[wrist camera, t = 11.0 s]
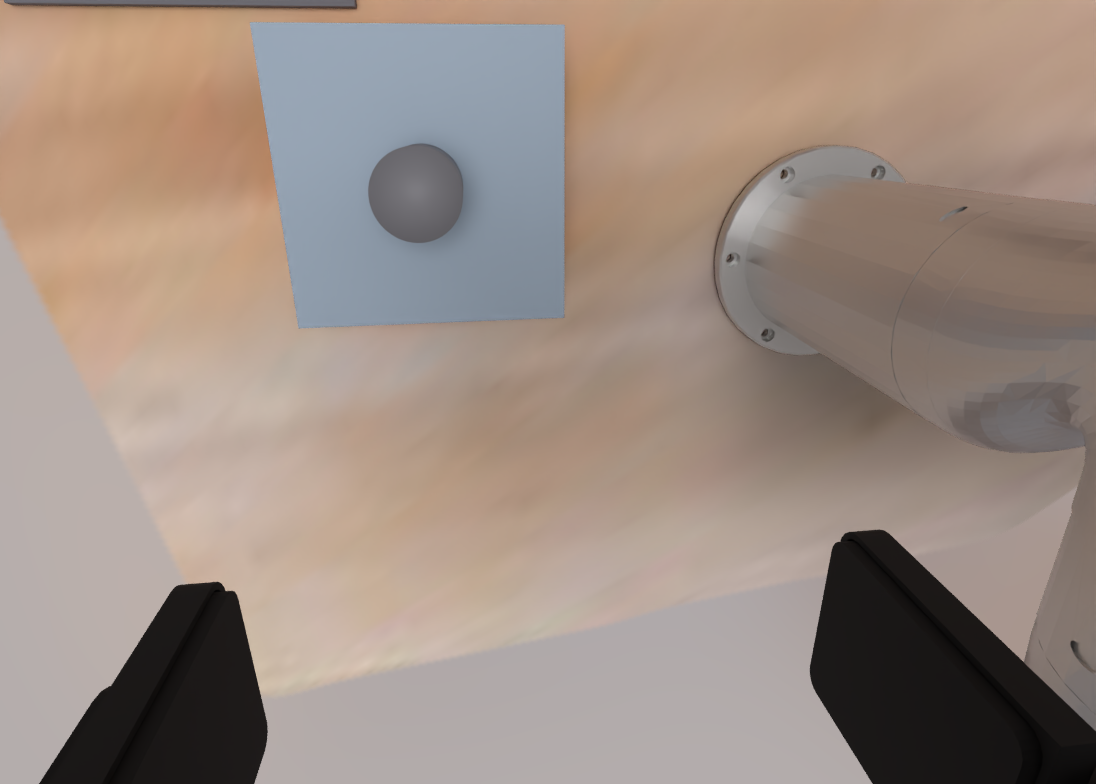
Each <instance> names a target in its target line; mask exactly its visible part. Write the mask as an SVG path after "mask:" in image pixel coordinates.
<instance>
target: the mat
mask: <svg viewBox="0 0 1096 784" xmlns="http://www.w3.org/2000/svg"><path fill="white" fill-rule="evenodd" d="M4 2H5V3H7V4H11V5H59V6H159V7H258V8H357V5H356V0H4Z"/></svg>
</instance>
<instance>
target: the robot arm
mask: <svg viewBox="0 0 1096 784" xmlns="http://www.w3.org/2000/svg"><path fill="white" fill-rule="evenodd" d="M782 170H784V176H783V177H782V178H781V177H780V174H781V172H782ZM872 170H873V173H872V175H871V172H872ZM729 254H731V259H730V260H729V261H726V258H727V256H728V255H729ZM715 282H716V286H717V290H718V294H719V298H720V301H721V303H722V305H723V307H724V309H725V311H726V313H727V315H728V316H729V318H730V319H731V320H732V322H733V323H734V324H735V325H736V327H737V328H738V329H739V330H740V331H742V332H743V333H744V334H745V335H746V336H748V337H749V338H750V339H751V340H753V341H754V342H756V343H757V344H759V345H760V346H762V347H764V348H767V349H770V350H773V351H775V352H778V353H782V354H789V355H796V356H799V355H815V354H820V353H821V354H823V355H824V356H826V357H828V358H829V359H831V360H832V361H834V362H835V363H837V364H839V365H840V366H842V367H843V368H845V369H846V370H848V371H850V372H851V373H853V374H854V375H856V376H857V377H859V378H861V379H862V380H864V381H865V382H867V383H868V384H870V385H872V386H873V387H875V388H876V389H878V390H879V391H881V392H883V393H884V394H886V395H887V396H889V397H890V398H892V399H894V400H895V401H897V402H898V403H900V404H901V405H903V406H905V407H906V408H908V409H909V410H911V411H913V412H914V413H916V414H918V415H919V416H921V417H923V418H924V419H926V420H928V421H929V422H931V423H933V424H934V425H936V426H937V427H939V428H941V429H942V430H944V431H946V432H947V433H949V434H951V435H953V436H955V437H957V438H959V439H961V440H963V441H966V442H968V443H971V444H974V445H976V446H980V447H983V448H987V449H992V450H998V451H1005V452H1012V453H1035V452H1049V451H1059V450H1065V449H1071V448H1077V447H1083V446H1085V448H1086V452H1085V463H1084V467H1083V471H1082V474H1081V477H1080V481H1079V484H1078V487H1077V491H1076V494H1075V497H1074V500H1073V503H1072V513H1071V516H1070V519H1069V522H1068V525H1067V528H1066V531H1065V534H1064V536H1063V539H1062V542H1061V545H1060V548H1059V551H1058V554H1057V557H1056V559H1055V562H1054V565H1053V568H1052V571H1051V574H1050V577H1049V580H1048V583H1047V585H1046V588H1045V591H1044V594H1043V597H1042V600H1041V603H1040V606H1039V609H1038V612H1037V617H1036V620H1035V623H1034V626H1033V629H1032V632H1031V636H1030V640H1029V644H1028V648H1027V652H1026V656H1025V660H1024V662H1023V661H1022V660H1021V659H1020V658H1019V657H1018V656H1017V655H1015V654H1014V653H1013V652H1012V651H1011V650H1010V649H1009V648H1008V647H1007V646H1006V645H1005V644H1004V643H1003V642H1002V641H1001V640H1000V639H999V638H998V637H996V635H995V634H994V633H993V632H991V631H990V630H989V629H988V628H987V627H986V626H985V625H984V624H983V623H982V622H981V621H980V620H979V619H978V618H977V617H976V616H975V615H974V614H972V613H971V611H969V610H968V609H967V608H966V607H965V606H964V605H963V604H962V603H961V602H960V601H959V600H958V599H957V598H956V597H955V596H954V595H952V593H951V592H949V591H948V590H947V589H946V588H945V587H944V586H943V585H942V584H941V583H940V582H939V581H938V580H937V579H936V578H935V577H934V576H933V575H932V574H930V572H929V571H927V570H926V569H925V568H924V567H923V566H922V565H921V564H920V563H919V562H918V561H917V560H916V559H915V558H914V557H913V556H912V555H911V554H910V553H909V552H908V551H907V550H906V549H905V548H903V547H902V546H901V545H900V544H899V543H898V542H897V541H896V540H895V539H894V538H893V537H892V536H891V535H890V534H889V533H887V532H886V531H884V530H869V531H857V532H848V533H845V534H844V536H843V537H842V539H841V542H837V543H835V545H834V546H833V549H832V552H831V558H830V563H829V568H828V574H827V579H826V584H825V590H824V595H823V600H822V606H821V611H820V617H819V622H818V627H817V632H816V638H815V643H814V648H813V654H812V659H811V664H810V677H811V681H812V685H813V687H814V689H815V691H816V693H817V695H818V697H819V698H820V700H821V701H822V703H823V705H824V706H825V708H826V709H827V711H828V713H829V714H830V716H831V717H832V719H833V721H834V722H835V724H836V726H837V727H838V729H839V730H840V732H841V734H842V735H843V737H844V738H845V740H846V741H847V743H848V745H849V746H850V748H851V750H852V751H853V753H854V754H855V756H856V757H857V759H858V761H859V762H860V764H861V765H862V767H863V769H864V771H865V772H866V774H867V775H868V777H869V779H870V780H871V782H872V783H873V784H1096V205H1092V204H1083V203H1074V202H1066V201H1057V200H1048V199H1034V198H1026V197H1018V196H1010V195H1002V194H993V193H985V192H977V191H969V190H960V189H952V188H944V187H936V186H928V185H919V184H911V183H906V182H905V180H904V178H903V177H902V176H901V174H900V173H899V172H898V171H897V170H896V169H895V168H894V167H893V166H892V165H891V164H890V163H889V162H887V161H885V160H884V159H882V158H881V157H879V156H877V155H876V154H874V153H872V152H869V151H866V150H863V149H860V148H857V147H849V146H838V145H832V146H816V147H812V148H807V149H803V150H799V151H797V152H794V153H792V154H790V155H788V156H785V157H783V158H781V159H779V160H778V161H776V162H775V163H773V164H772V165H770V166H769V167H767V168H766V169H764V170H763V171H762V172H761V173H759V174H758V175H757V176H756V177H755V178H754V179H753V180H752V181H751V182H750V183H749V184H748V185H747V186H746V187H745V189H744V190H743V191H742V193H741V194H740V195H739V197H738V198H737V199H736V201H735V202H734V203H733V205H732V207H731V209H730V211H729V213H728V215H727V217H726V219H725V221H724V223H723V226H722V229H721V232H720V235H719V238H718V242H717V248H716V255H715ZM764 330H765V332H764V333H763V334H762V332H763V331H764ZM267 733H268V731H267V720H266V716H265V712H264V708H263V703H262V699H261V695H260V690H259V686H258V682H257V678H256V673H255V669H254V665H253V660H252V656H251V652H250V648H249V643H248V639H247V635H246V630H245V626H244V622H243V618H242V613H241V609H240V605H239V601H238V597H237V594H236V593H235V592H234V591H225V589H224V586H223V585H222V584H221V583H219V582H210V583H198V584H185V585H178V586H176V587H175V588H174V589H173V590H172V591H171V593H170V594H169V596H168V598H167V599H166V601H165V602H164V604H163V605H162V607H161V609H160V610H159V612H158V613H157V615H156V616H155V618H154V619H153V621H152V623H151V624H150V626H149V628H148V629H147V631H146V632H145V634H144V635H143V637H142V638H141V640H140V642H139V643H138V645H137V647H136V648H135V649H134V651H133V652H132V654H131V656H130V657H129V659H128V660H127V662H126V663H125V665H124V667H123V668H122V670H121V671H120V673H119V674H118V676H117V678H116V679H115V681H114V683H113V684H112V686H109V687H108V688H106V689H104V690H103V691H101V692H100V693H99V695H98V696H97V697H96V698H95V699H94V701H93V702H92V703H91V705H90V707H89V708H88V710H87V711H86V713H85V714H84V716H83V717H82V719H81V720H80V722H79V723H78V725H77V726H76V728H75V729H74V731H73V732H72V734H71V736H70V737H69V739H68V740H67V742H66V743H65V745H64V747H63V748H62V750H61V751H60V753H59V754H58V756H57V757H56V759H55V760H54V762H53V763H52V765H51V766H50V768H49V769H48V771H47V772H46V774H45V775H44V777H43V779H42V780H41V782H40V783H39V784H254V783H255V779H256V776H257V773H258V770H259V767H260V764H261V761H262V758H263V755H264V752H265V747H266V742H267Z"/></svg>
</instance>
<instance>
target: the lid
mask: <svg viewBox="0 0 1096 784" xmlns="http://www.w3.org/2000/svg"><path fill="white" fill-rule="evenodd" d="M250 26H251V33H252V39H253V45H254V51H255V58H256V64H257V70H258V76H259V83H260V89H261V95H262V102H263V108H264V114H265V120H266V127H267V133H268V139H269V145H270V152H271V158H272V164H273V171H274V177H275V183H276V189H277V196H278V202H279V208H280V214H281V221H282V227H283V233H284V240H285V246H286V252H287V258H288V265H289V271H290V277H291V283H292V290H293V296H294V302H295V309H296V315H297V321H298V327H299V328H320V327H345V326H369V325H394V324H419V323H443V322H468V321H493V320H518V319H542V318H564V25H532V24H401V23H270V22H250Z"/></svg>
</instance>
